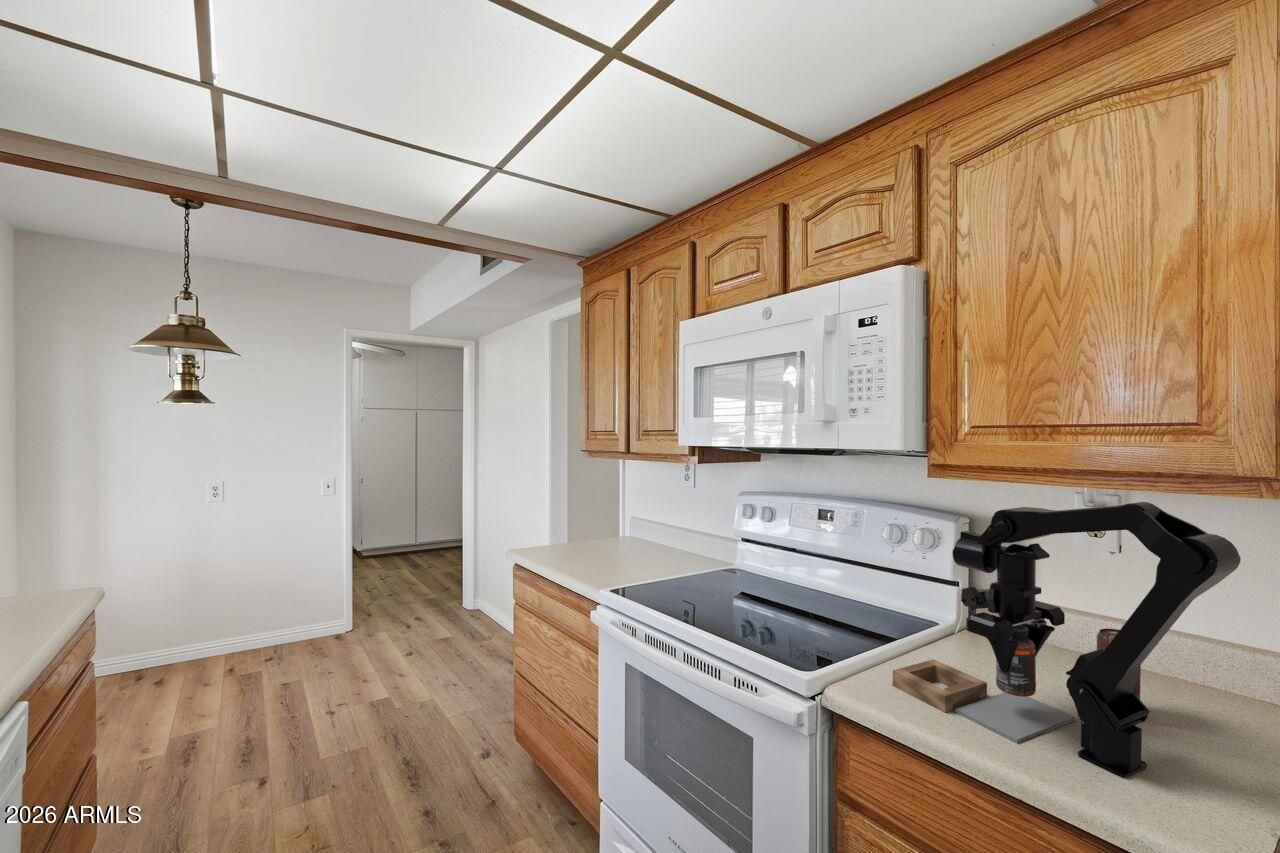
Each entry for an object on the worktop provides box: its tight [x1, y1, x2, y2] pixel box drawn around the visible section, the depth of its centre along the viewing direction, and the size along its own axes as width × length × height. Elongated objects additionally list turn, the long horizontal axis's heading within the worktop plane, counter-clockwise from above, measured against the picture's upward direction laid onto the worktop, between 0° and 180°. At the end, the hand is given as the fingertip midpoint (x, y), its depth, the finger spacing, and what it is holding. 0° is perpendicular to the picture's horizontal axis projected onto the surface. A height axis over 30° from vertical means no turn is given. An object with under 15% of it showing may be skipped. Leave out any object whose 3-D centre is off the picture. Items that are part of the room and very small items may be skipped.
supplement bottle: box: [995, 625, 1037, 697], centre depth 104 cm, size 6×6×11 cm
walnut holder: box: [892, 658, 988, 713], centre depth 114 cm, size 12×12×3 cm
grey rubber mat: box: [954, 692, 1076, 744], centre depth 105 cm, size 11×16×1 cm
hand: (1015, 667), depth 104 cm, fingers closed on supplement bottle, 6 cm apart
